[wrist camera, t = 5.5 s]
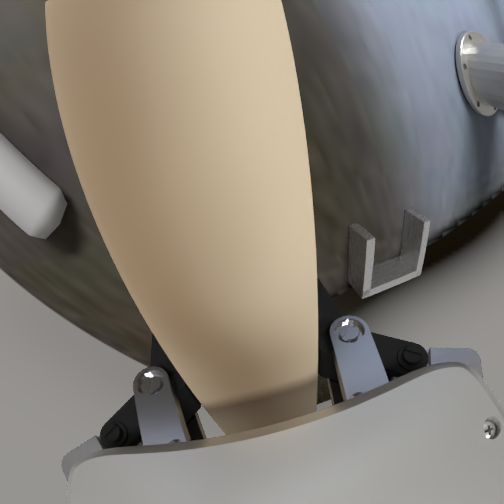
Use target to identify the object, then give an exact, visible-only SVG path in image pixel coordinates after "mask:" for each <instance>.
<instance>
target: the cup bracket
mask: <svg viewBox="0 0 504 504" xmlns="http://www.w3.org/2000/svg"><path fill="white" fill-rule="evenodd" d="M429 226H430V220H429V219H427V218H426V217H424V216H423V215H421V214H419V213H418V212H416V211H415V210H413V209H411V208H410V209H406V210H405V216H404V226H403V235H402V244H401V251H400V256H398V257H396V258H393V259H390V260H388V261H385V262H382V263H379V264H376V265H374V266H373V260H374V249H375V237H374V236H372V235H371V234H370V233H369V232H368V231H366V230H365V229H364V228H363V227H361V226H360V225H359V224H358V223H354V224H350V225H349V257H348V282H349V283H350V285H351V286H352V287H353V288H354V289H355V291H356V292H357V293H358V294H359V296H360V297H361V298H362V299H363V298H366V297H368V296H371V295H373V294H376V293H378V292H381V291H383V290H386V289H388V288H391V287H393V286H396V285H398V284H400V283H403V282H405V281H407V280H410V279H412V278H414V277H416V276H419V275H420V274H421V270H422V265H423V260H424V255H425V250H426V245H427V239H428V233H429Z"/></svg>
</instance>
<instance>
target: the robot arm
mask: <svg viewBox="0 0 504 504" xmlns="http://www.w3.org/2000/svg"><path fill="white" fill-rule="evenodd" d="M456 66H457V72H458V77H459V80H460V84H461V87H462V89H463V92H464V94H465V97H466V99H467V101H468V102H469V104H470V105H471V107H472V108H473V109H474V110H475V111H476V112H477V113H478V114H481V115H484V116H491V115H493V114H494V113H495V112H496V111H497V109H501V110H504V43H494V42H487V41H486V39H485V38H484V37H483V36H482V35H480V34H479V33H477V32H475V31H464V32H462V33H461V34H460V36H459V37H458V40H457V44H456ZM317 290H318V374H320V376H322V377H325V378H327V381H328V386H329V391H330V395H331V400H332V405H333V406H330V407H328V408H325V409H322V410H320V411H316V412H313V413H310V414H307V415H304V416H301V417H298V418H294V419H291V420H288V421H284V422H281V423H277V424H273V425H270V426H266V427H262V428H258V429H254V430H249V431H245V432H240V433H235V434H230V435H225V436H220V437H214V438H208V439H207V438H206V435H205V433H204V430H203V427H202V424H201V422H200V419H199V416H198V413H197V411H198V410H199V409H200V407H201V403H200V402H199V400H198V399H197V398H196V396H195V395H194V394H193V392H192V391H191V389H190V388H189V387H188V385H187V384H186V383H185V381H184V380H183V378H182V377H181V375H180V374H179V373H178V371H177V370H176V368H175V367H174V365H173V364H172V362H171V361H170V359H169V358H168V356H167V355H166V353H165V352H164V350H163V349H162V347H161V345H160V344H159V342H158V341H157V339H156V338H155V336H154V334H153V335H152V348H151V366H150V367H148V368H146V369H143V370H142V371H141V372H139V373H138V375H137V376H136V377H135V380H134V383H133V390H134V395H133V396H132V397H131V398H130V399H129V400H128V401H127V402H126V403H125V404H124V405H123V407H121V409H120V410H118V411H117V412H116V414H114V416H113V417H112V418H110V420H108V421H107V422H106V423H105V425H104V426H103V427H102V429H101V432H100V436H99V437H97V436H94V437H92V438H90V439H89V440H87V441H86V442H84V443H83V444H81V445H80V446H78V447H77V448H75V449H73V450H72V451H70V452H69V453H67V454H66V455H65V456H64V457H63V460H62V469H63V472H64V474H65V477H66V479H67V481H68V485H67V497H66V502H67V503H66V504H504V408H503V406H502V405H501V403H500V402H499V400H498V399H497V397H496V396H495V394H494V393H493V391H492V390H491V389H490V387H489V386H488V385H487V384H486V382H485V381H484V380H483V374H482V366H481V359H480V357H479V355H478V354H477V352H476V351H474V350H473V349H469V348H432V347H431V348H430V349H429V350H425V349H424V348H423V347H422V346H421V345H419V344H416V343H413V342H408V341H404V340H400V339H395V338H392V337H388V336H384V335H380V334H376V333H371V332H370V330H369V327H368V325H367V324H366V322H365V321H363V320H362V319H360V318H358V317H355V316H344V317H343V316H342V314H341V313H340V311H339V310H338V308H337V307H336V305H335V303H334V302H333V300H332V299H331V297H330V296H329V294H328V292H327V291H326V289H325V288H324V286H323V285H322V283H321V282H320V280H319V279H318V278H317Z"/></svg>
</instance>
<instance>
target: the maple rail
mask: <svg viewBox="0 0 504 504" xmlns="http://www.w3.org/2000/svg"><path fill="white" fill-rule="evenodd" d="M45 14H46V31H47V42H48V51H49V58H50V65H51V72H52V78H53V83H54V88H55V93H56V98H57V103H58V107H59V112H60V116H61V120H62V124H63V128H64V131H65V135H66V139H67V142H68V146H69V149H70V152H71V155H72V159H73V162H74V165H75V168H76V171H77V174H78V177H79V180H80V182H81V185H82V188H83V191H84V193H85V196H86V199H87V201H88V204H89V206H90V209H91V211H92V214H93V216H94V219H95V221H96V224H97V226H98V228H99V231H100V233H101V235H102V237H103V240H104V242H105V244H106V246H107V248H108V251H109V253H110V255H111V257H112V259H113V261H114V263H115V265H116V267H117V269H118V271H119V273H120V275H121V277H122V279H123V281H124V283H125V285H126V287H127V289H128V291H129V293H130V294H131V296H132V298H133V300H134V302H135V303H136V305H137V307H138V309H139V311H140V312H141V314H142V316H143V318H144V319H145V321H146V323H147V324H148V326H149V328H150V329H151V331H152V333H153V334H154V336H155V338H156V339H157V341H158V342H159V344H160V345H161V347H162V349H163V350H164V352H165V353H166V355H167V356H168V358H169V359H170V361H171V362H172V364H173V365H174V367H175V368H176V370H177V371H178V373H179V374H180V375H181V377H182V378H183V380H184V381H185V383H186V384H187V385H188V387H189V388H190V389H191V391H192V392H193V394H194V395H195V396H196V398H197V399H198V400H199V402H200V403H201V404H202V405H203V407H204V408H205V409H206V411H207V412H208V413H209V414H210V416H211V417H212V418H213V419H214V421H215V422H216V423H217V424H218V426H219V427H220V428H221V429H222V430H223V432H224V433H225V434H226V435H230V434H235V433H240V432H245V431H249V430H254V429H258V428H262V427H266V426H270V425H273V424H277V423H281V422H284V421H288V420H291V419H294V418H298V417H301V416H304V415H307V414H310V413H313V412H316V405H317V380H318V290H317V263H316V244H315V228H314V214H313V201H312V190H311V179H310V170H309V160H308V151H307V143H306V135H305V127H304V120H303V113H302V106H301V99H300V93H299V87H298V81H297V75H296V69H295V64H294V58H293V53H292V48H291V43H290V38H289V33H288V28H287V24H286V19H285V15H284V10H283V6H282V2H281V0H49V1H47V2H45Z"/></svg>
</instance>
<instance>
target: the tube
mask: <svg viewBox="0 0 504 504" xmlns="http://www.w3.org/2000/svg"><path fill="white" fill-rule="evenodd" d="M66 206H67V202H66V200H65V198H64V196H63V193H62V191H61V189H60V188H59V187H58V186H57V185H56V184H54V183H53V182H52V181H51V180H50V179H49V178H48V177H46V176H45V175H44V174H43V173H42V172H41V171H40V170H39V169H38V168H37V167H35V166H34V165H33V164H32V163H31V162H30V161H29V160H28V159H27V158H26V157H25V156H24V155H23V154H22V153H21V152H19V151H18V150H17V149H16V148H15V147H14V146H13V145H12V144H11V143H10V142H9V141H8V140H7V139H6V138H5V137H4V136H3V135H2V134H1V133H0V209H1V210H2V211H3V212H4V213H5V214H6V215H7V216H8V217H9V218H10V219H11V220H12V221H13V222H15V223H16V224H17V225H18V226H19V227H20V228H21V229H22V230H24V231H25V232H26V233H27V234H28V235H30V236H33V237H38V238H42V239H46V238H47V237H48V236H49V235H50V234H51V233H52V232H53V231H54V230H55V229H56V228H57V227H58V226H59V225H60V222H61V219H62V217H63V214H64V211H65V209H66Z"/></svg>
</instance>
